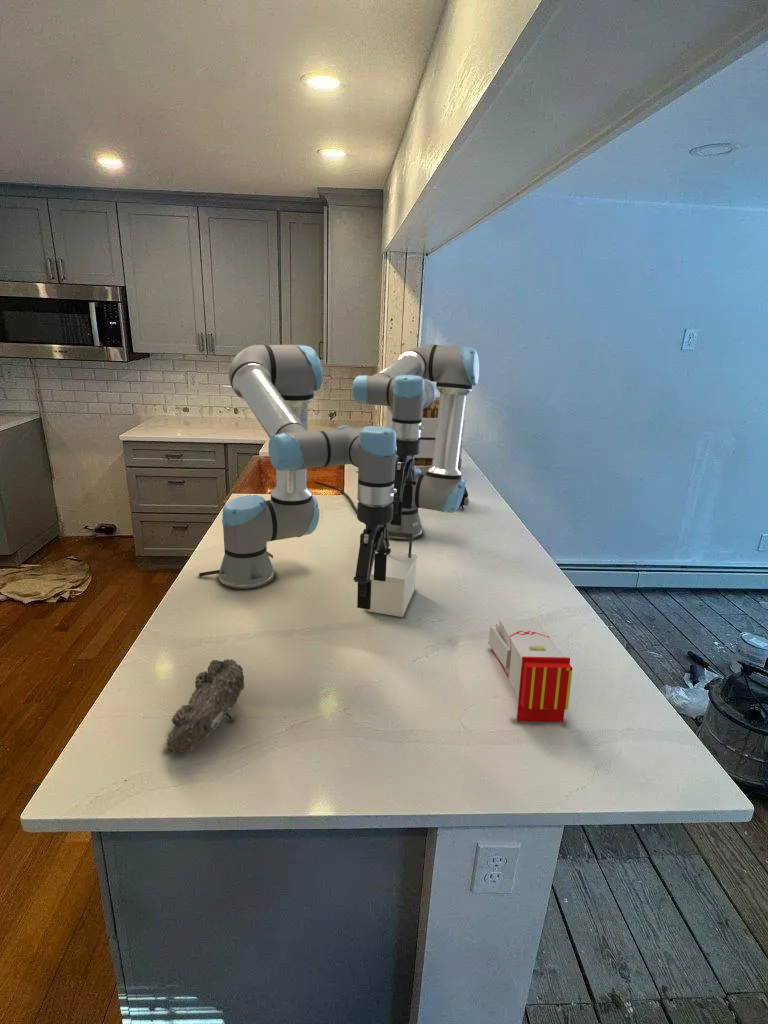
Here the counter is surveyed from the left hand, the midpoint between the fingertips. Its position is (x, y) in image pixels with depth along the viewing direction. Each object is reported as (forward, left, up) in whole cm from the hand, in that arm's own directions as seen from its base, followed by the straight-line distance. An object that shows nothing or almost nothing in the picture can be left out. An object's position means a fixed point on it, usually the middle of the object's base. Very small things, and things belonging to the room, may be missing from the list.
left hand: (372, 593), depth 125 cm
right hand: (-1, +32, +7) cm, 32 cm away
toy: (+34, +1, -16) cm, 38 cm away
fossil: (-23, -30, -16) cm, 40 cm away
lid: (-1, +26, -6) cm, 27 cm away
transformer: (-18, +154, -16) cm, 156 cm away
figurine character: (+6, +112, -16) cm, 113 cm away
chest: (-1, +26, -16) cm, 30 cm away
